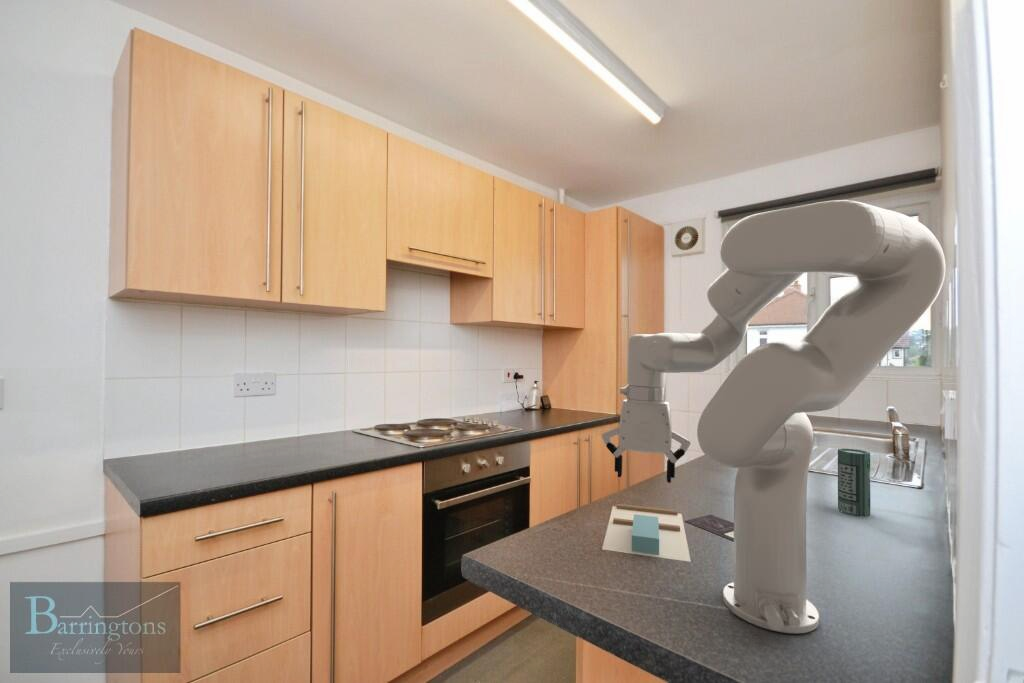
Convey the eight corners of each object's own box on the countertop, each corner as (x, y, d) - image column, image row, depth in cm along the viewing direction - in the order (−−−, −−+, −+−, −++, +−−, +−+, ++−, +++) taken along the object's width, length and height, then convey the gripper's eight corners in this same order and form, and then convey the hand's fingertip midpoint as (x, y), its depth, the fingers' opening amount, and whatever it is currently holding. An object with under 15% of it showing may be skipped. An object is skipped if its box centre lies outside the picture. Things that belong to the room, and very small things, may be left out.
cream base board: (690, 563, 82) (690, 557, 82) (601, 551, 87) (602, 545, 87) (681, 515, 107) (681, 510, 107) (612, 507, 112) (612, 502, 112)
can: (875, 514, 110) (875, 452, 110) (859, 517, 107) (859, 454, 108) (848, 506, 115) (848, 447, 116) (833, 509, 113) (832, 449, 113)
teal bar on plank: (659, 554, 85) (659, 538, 85) (631, 551, 86) (631, 535, 86) (658, 531, 96) (658, 517, 96) (633, 528, 98) (633, 514, 98)
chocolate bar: (710, 514, 107) (788, 543, 91) (710, 518, 107) (788, 547, 91) (684, 521, 102) (761, 552, 87) (684, 525, 102) (761, 557, 87)
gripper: (601, 393, 91) (599, 478, 91) (693, 399, 86) (690, 488, 86) (604, 390, 98) (602, 468, 98) (689, 395, 93) (687, 477, 93)
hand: (643, 478), depth 92 cm, fingers open, 9 cm apart
